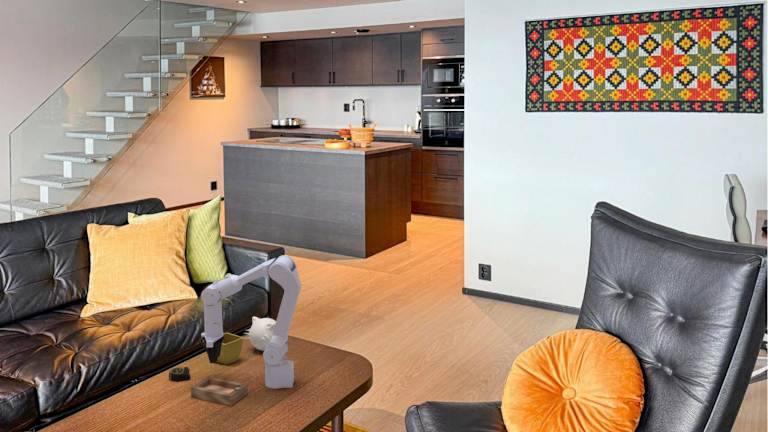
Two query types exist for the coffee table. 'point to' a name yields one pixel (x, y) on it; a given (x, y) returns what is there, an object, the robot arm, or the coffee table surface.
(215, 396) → the wooden tray
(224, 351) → the flower pot
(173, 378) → the tape measure
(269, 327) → the cat head
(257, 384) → the coffee table surface
